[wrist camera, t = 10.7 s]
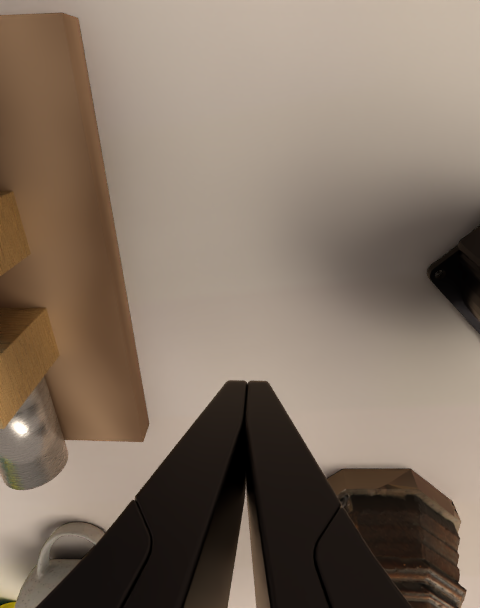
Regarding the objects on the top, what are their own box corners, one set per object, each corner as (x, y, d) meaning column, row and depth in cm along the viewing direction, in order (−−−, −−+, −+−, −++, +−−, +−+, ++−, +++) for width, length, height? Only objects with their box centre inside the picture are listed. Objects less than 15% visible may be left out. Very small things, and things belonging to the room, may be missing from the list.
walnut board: (78, 18, 17) (62, 13, 15) (149, 424, 27) (143, 441, 26) (-200, 29, 17) (-238, 25, 16) (-27, 419, 28) (-41, 436, 27)
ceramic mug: (152, 589, 37) (127, 698, 30) (69, 590, 38) (27, 696, 31) (122, 514, 32) (85, 623, 26) (28, 517, 33) (-32, 623, 26)
